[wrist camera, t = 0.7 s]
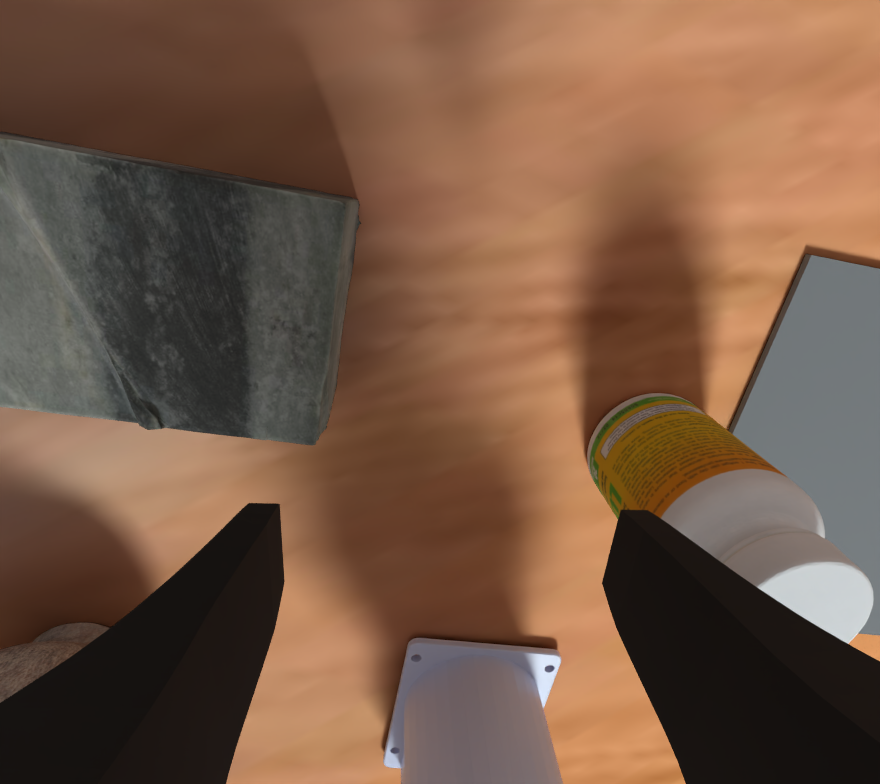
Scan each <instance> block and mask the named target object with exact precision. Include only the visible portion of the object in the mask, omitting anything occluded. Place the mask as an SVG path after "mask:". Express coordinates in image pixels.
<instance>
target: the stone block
mask: <svg viewBox="0 0 880 784" xmlns="http://www.w3.org/2000/svg"><path fill="white" fill-rule="evenodd" d="M358 209H359V201H358V200H357V199H355V198H352V197H347V196H341V195H334V194H329V193H324V192H320V191H315V190H310V189H305V188H299V187H294V186H288V185H283V184H277V183H272V182H267V181H262V180H257V179H252V178H247V177H241V176H236V175H231V174H226V173H221V172H215V171H210V170H205V169H200V168H194V167H189V166H184V165H178V164H173V163H167V162H162V161H156V160H150V159H144V158H138V157H132V156H127V155H121V154H116V153H111V152H106V151H101V150H96V149H90V148H84V147H79V146H76V145H70V144H65V143H60V142H54V141H49V140H43V139H38V138H33V137H28V136H22V135H17V134H11V133H6V132H0V407H8V408H16V409H24V410H32V411H40V412H48V413H56V414H65V415H74V416H83V417H92V418H101V419H109V420H117V421H126V422H134V423H139V425H140V426H142V427H144V428H145V429H147V430H151V429H162V428H172V429H179V430H186V431H193V432H202V433H210V434H218V435H227V436H237V437H246V438H253V439H260V440H273V441H281V442H289V443H297V444H305V445H315V444H316V441H317V440H318V439H319V436H320V434H321V433H322V432H323V431H324V430H325V429H326V428H327V426H326V425H327V423H328V419H329V416H330V411H331V408H332V403H333V399H334V394H335V390H336V386H337V375H338V367H339V358H340V348H341V337H342V330H343V323H344V316H345V311H346V304H347V296H348V290H349V284H350V280H351V275H352V268H353V262H354V251H355V244H356V231H357V229H358V227H359V224H361V223H360V221H359V216H358Z"/></svg>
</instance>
